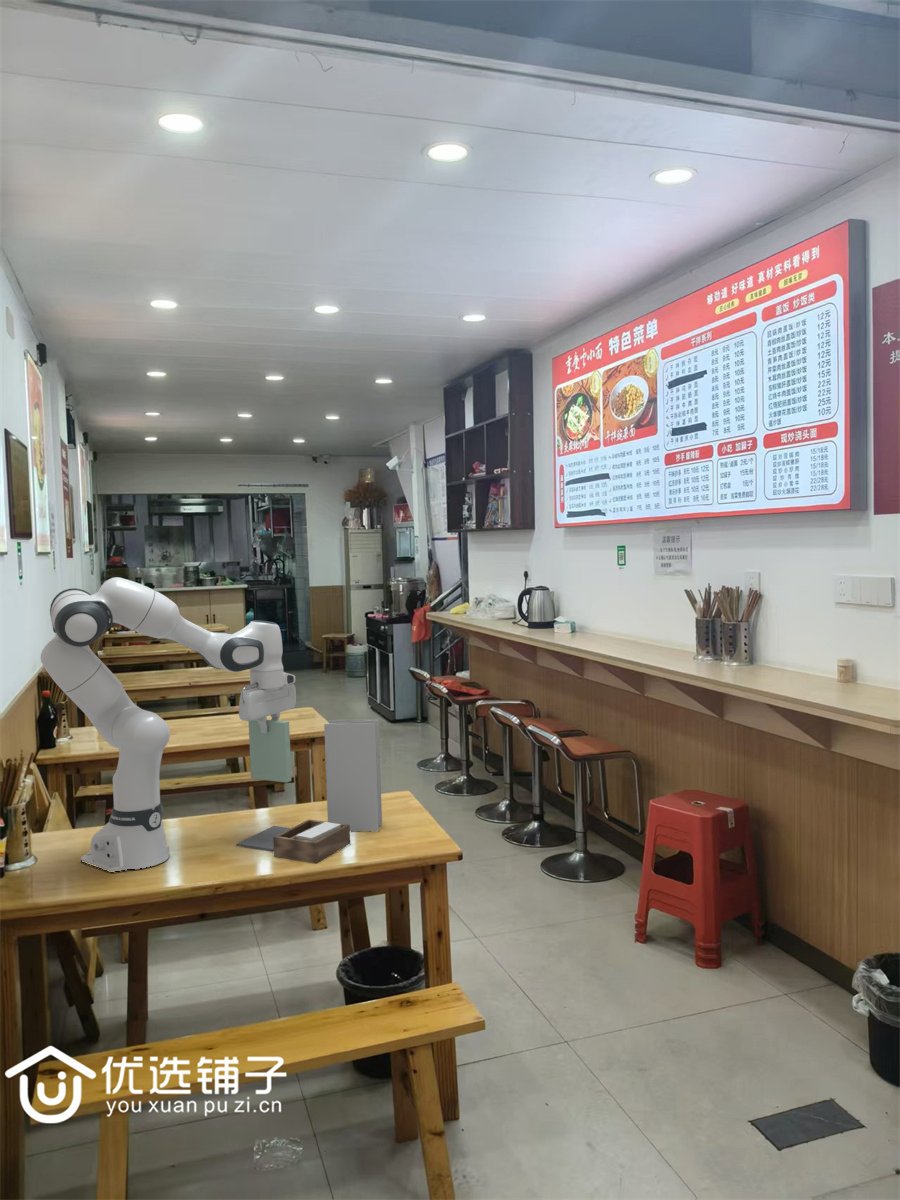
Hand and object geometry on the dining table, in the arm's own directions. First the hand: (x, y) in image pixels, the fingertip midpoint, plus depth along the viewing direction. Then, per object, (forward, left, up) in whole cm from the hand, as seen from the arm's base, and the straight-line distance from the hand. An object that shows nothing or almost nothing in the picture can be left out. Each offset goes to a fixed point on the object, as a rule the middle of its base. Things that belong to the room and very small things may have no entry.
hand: (269, 731), depth 229 cm
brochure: (+16, +16, -30) cm, 37 cm away
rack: (+15, -3, -29) cm, 33 cm away
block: (0, 0, -13) cm, 13 cm away
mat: (0, 0, -29) cm, 29 cm away
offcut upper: (+17, -3, -27) cm, 32 cm away
